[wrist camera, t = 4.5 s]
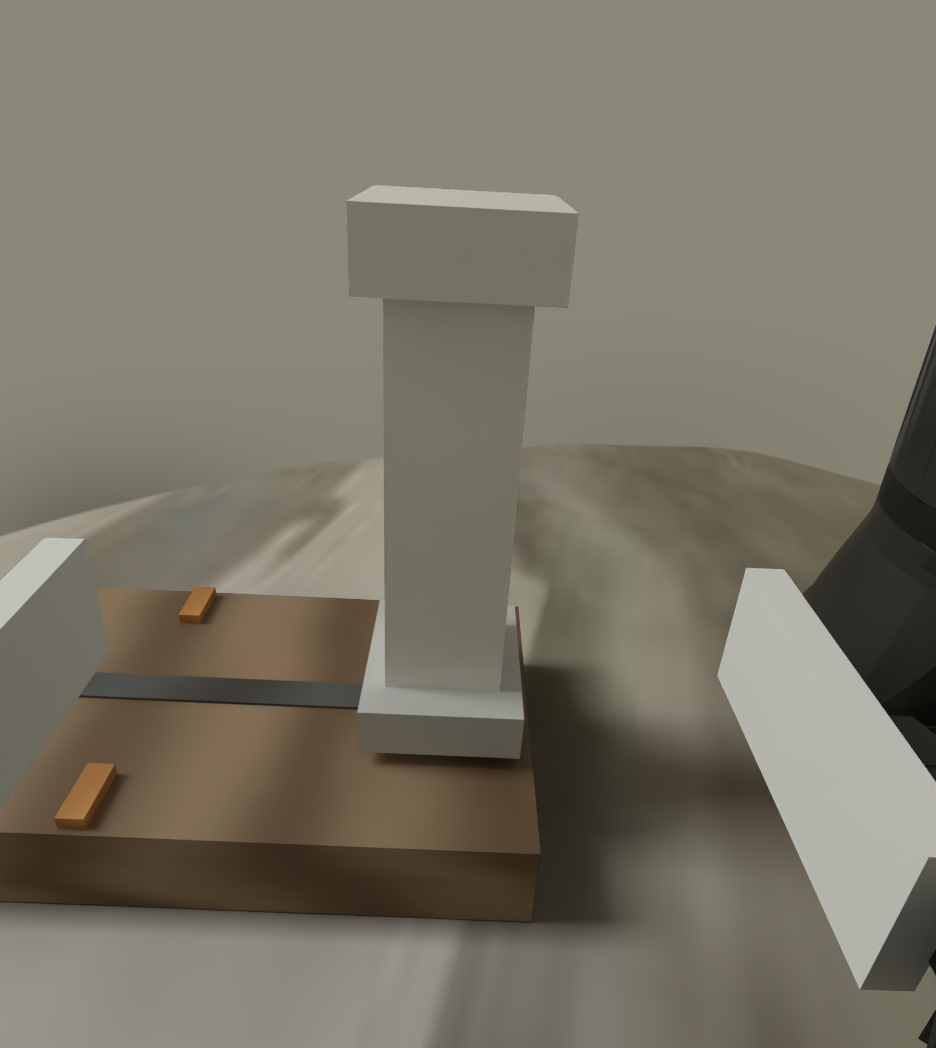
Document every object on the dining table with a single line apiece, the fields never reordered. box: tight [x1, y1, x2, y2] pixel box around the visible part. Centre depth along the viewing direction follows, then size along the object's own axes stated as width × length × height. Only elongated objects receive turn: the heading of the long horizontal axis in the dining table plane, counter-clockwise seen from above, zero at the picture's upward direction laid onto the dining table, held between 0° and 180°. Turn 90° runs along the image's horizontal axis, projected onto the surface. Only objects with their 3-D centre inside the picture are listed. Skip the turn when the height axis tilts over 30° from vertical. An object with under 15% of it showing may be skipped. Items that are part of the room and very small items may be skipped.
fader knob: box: [347, 185, 579, 759], centre depth 22 cm, size 5×6×16 cm
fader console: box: [0, 587, 541, 922], centre depth 26 cm, size 26×12×3 cm, turn 90°
